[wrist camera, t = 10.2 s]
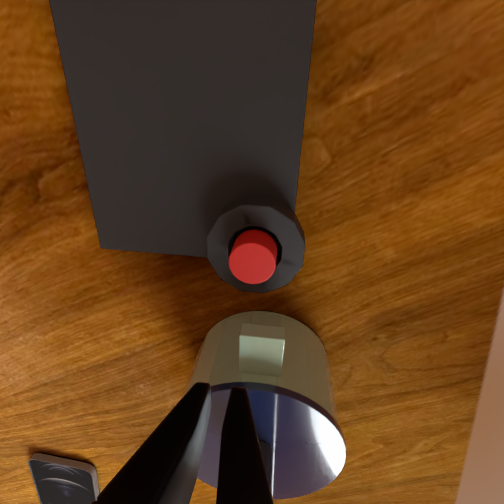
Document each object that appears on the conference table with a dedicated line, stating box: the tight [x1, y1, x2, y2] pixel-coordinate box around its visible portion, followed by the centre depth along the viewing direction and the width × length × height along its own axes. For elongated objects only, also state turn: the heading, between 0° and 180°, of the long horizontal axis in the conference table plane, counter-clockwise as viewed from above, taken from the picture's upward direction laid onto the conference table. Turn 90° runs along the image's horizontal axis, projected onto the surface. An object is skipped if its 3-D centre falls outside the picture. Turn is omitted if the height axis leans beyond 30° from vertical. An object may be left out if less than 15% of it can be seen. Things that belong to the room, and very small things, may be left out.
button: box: [229, 229, 277, 284], centre depth 16 cm, size 2×2×2 cm
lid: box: [197, 382, 346, 500], centre depth 17 cm, size 11×11×6 cm
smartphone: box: [28, 453, 99, 504], centre depth 37 cm, size 8×1×15 cm
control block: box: [49, 0, 317, 293], centre depth 15 cm, size 13×19×3 cm, turn 178°
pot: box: [182, 311, 338, 423], centre depth 22 cm, size 10×15×6 cm, turn 178°
